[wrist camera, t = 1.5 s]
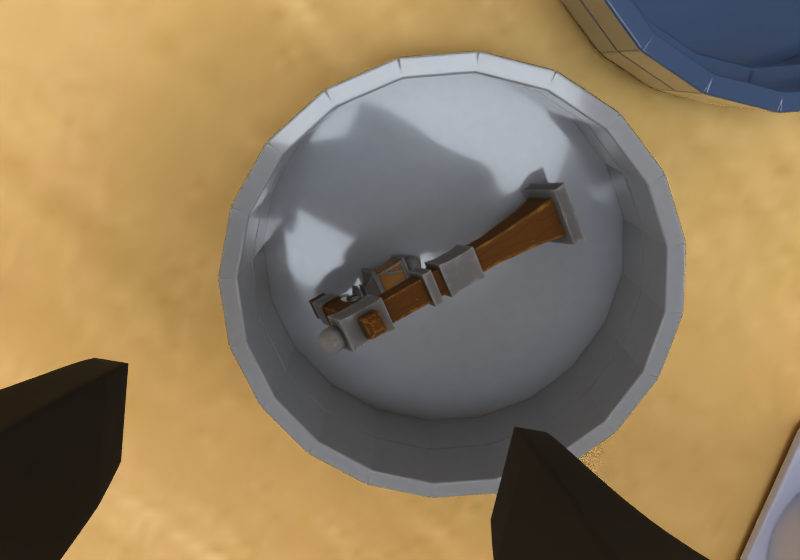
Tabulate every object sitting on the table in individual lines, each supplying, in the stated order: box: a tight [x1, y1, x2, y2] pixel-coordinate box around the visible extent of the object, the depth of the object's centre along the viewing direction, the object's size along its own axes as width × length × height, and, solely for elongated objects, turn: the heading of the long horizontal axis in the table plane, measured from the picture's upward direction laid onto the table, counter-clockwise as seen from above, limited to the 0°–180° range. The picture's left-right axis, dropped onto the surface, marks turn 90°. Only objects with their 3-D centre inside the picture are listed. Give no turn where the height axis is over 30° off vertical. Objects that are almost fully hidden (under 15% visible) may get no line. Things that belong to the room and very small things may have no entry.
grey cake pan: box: [219, 51, 686, 498], centre depth 20 cm, size 12×12×4 cm
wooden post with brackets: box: [309, 182, 586, 354], centre depth 21 cm, size 2×8×4 cm, turn 113°
